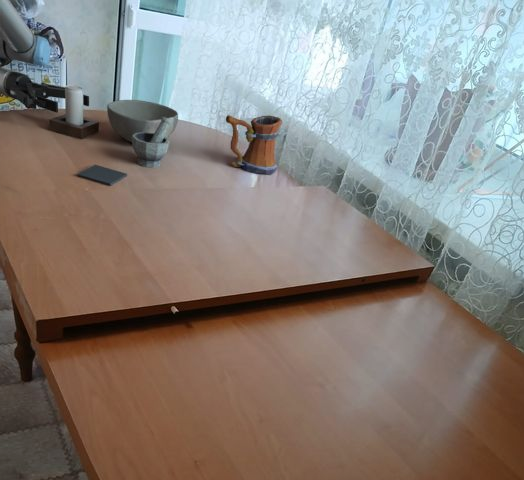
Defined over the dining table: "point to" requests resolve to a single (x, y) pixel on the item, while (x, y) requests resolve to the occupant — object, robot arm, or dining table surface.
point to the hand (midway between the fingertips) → (73, 104)
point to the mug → (256, 144)
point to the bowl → (139, 117)
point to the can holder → (74, 127)
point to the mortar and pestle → (152, 145)
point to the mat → (102, 175)
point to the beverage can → (74, 104)
